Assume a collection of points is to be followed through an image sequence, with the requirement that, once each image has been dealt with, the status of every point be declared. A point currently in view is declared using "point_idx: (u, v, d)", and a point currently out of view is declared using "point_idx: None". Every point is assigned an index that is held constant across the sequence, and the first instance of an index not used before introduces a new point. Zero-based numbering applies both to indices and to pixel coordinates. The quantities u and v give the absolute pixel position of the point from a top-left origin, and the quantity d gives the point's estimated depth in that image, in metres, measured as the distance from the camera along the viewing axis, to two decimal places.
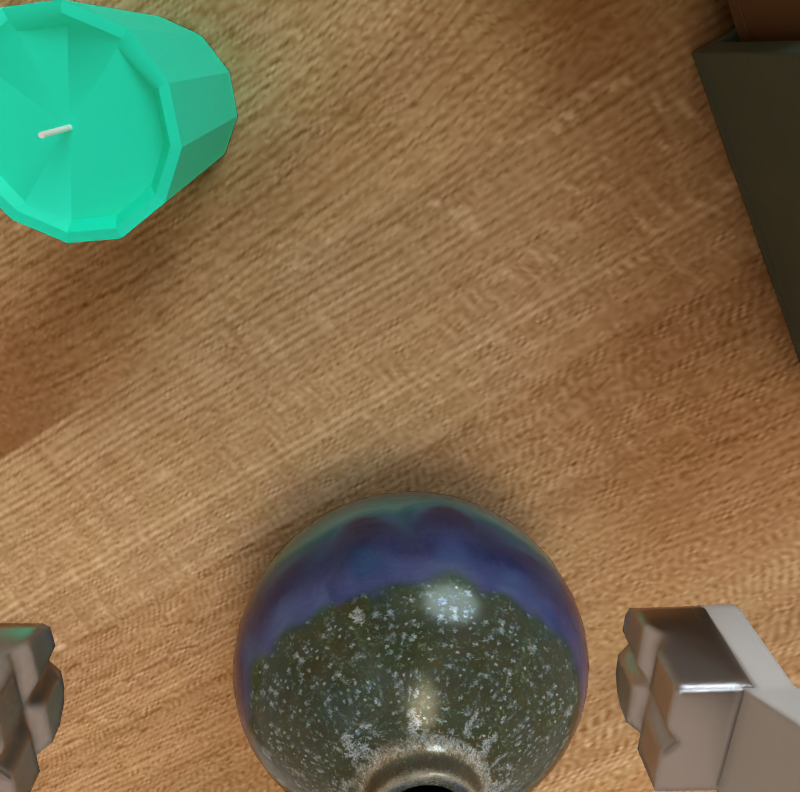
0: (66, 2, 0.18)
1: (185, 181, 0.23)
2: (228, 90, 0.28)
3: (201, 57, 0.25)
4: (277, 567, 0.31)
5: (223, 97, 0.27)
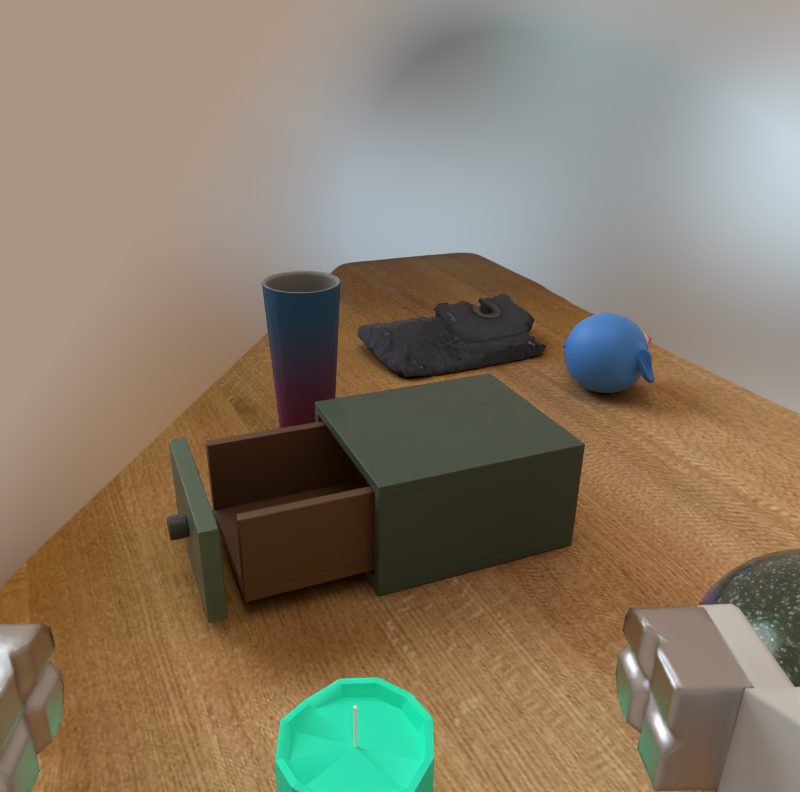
0: (282, 719, 0.29)
1: None
2: None
3: None
4: None
5: None
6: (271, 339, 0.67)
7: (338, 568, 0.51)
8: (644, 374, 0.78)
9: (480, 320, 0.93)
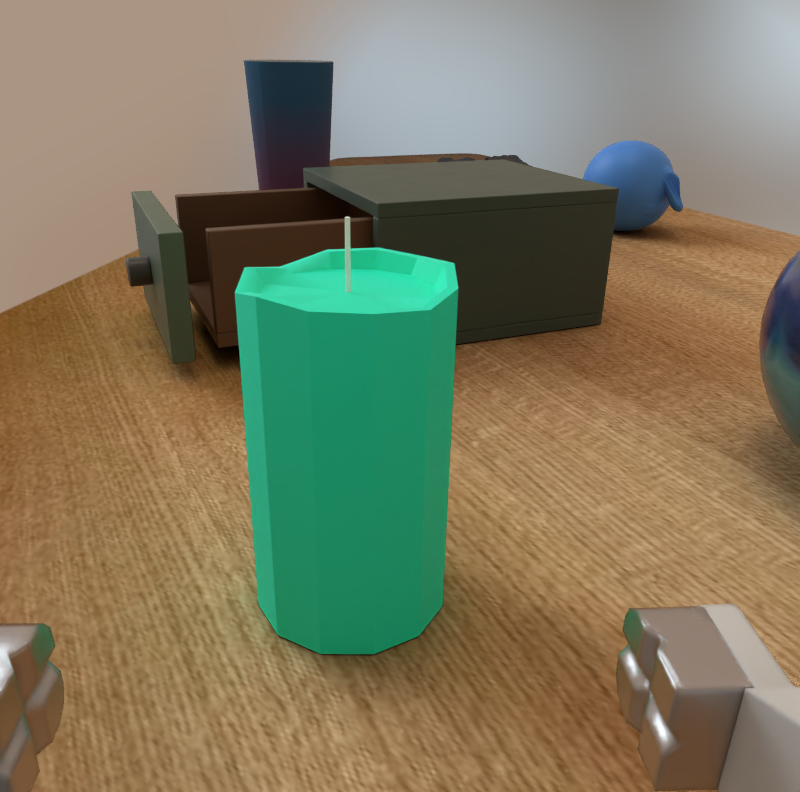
0: (248, 268, 0.21)
1: None
2: None
3: None
4: None
5: None
6: (255, 128, 0.59)
7: None
8: (672, 201, 0.70)
9: None
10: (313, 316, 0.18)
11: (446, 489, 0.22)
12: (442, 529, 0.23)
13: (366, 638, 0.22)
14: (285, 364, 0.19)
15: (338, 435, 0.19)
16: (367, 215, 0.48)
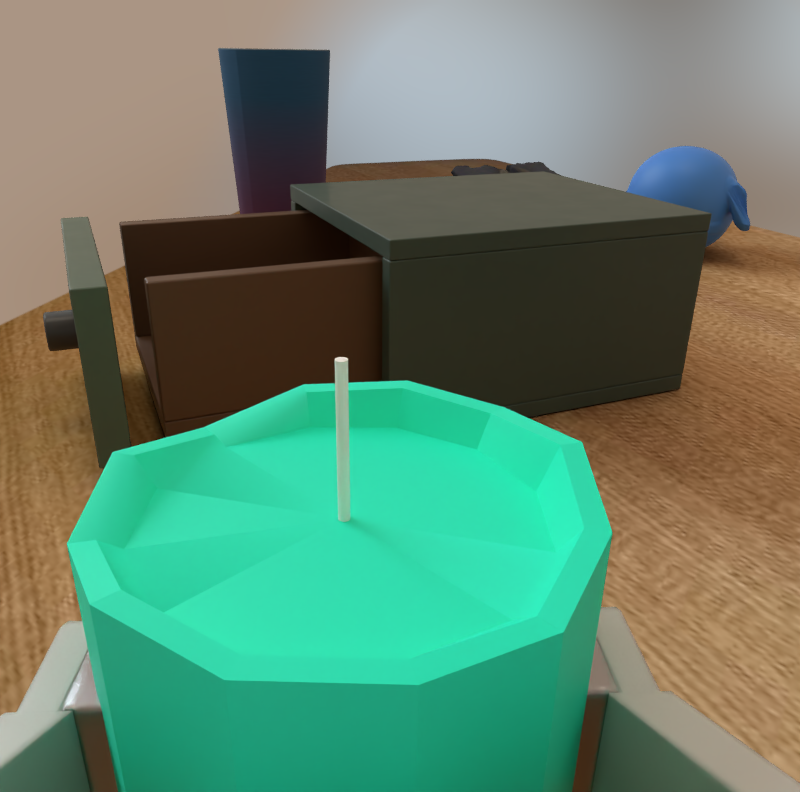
0: (122, 452, 0.09)
1: None
2: None
3: None
4: None
5: None
6: (232, 133, 0.47)
7: None
8: (737, 218, 0.58)
9: None
10: (240, 692, 0.06)
11: None
12: None
13: None
14: (175, 771, 0.07)
15: None
16: None
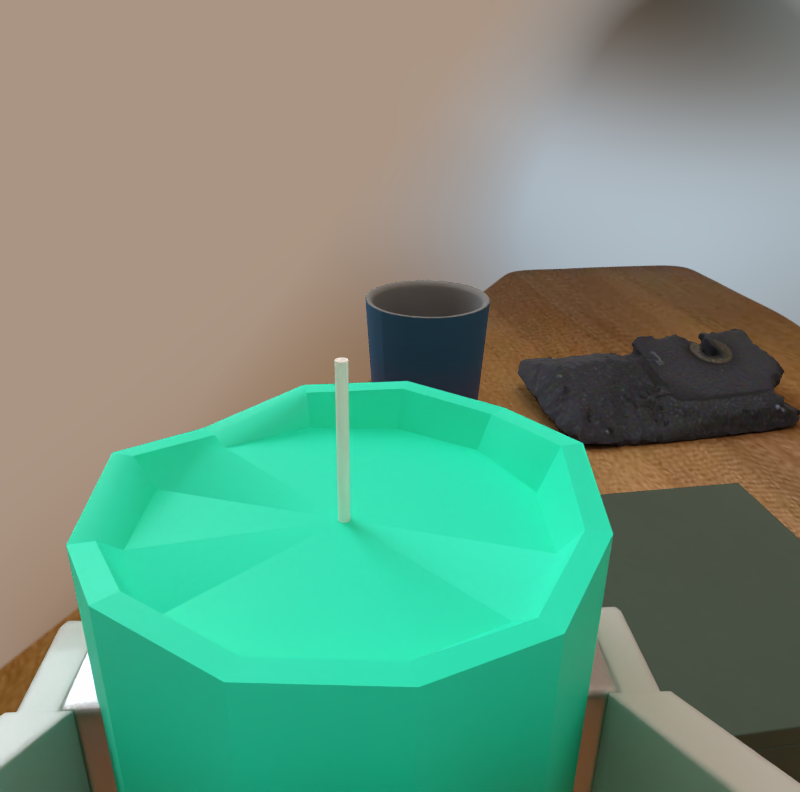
0: (121, 453, 0.09)
1: None
2: None
3: None
4: None
5: None
6: None
7: None
8: None
9: (700, 366, 0.63)
10: (240, 694, 0.06)
11: None
12: None
13: None
14: (175, 773, 0.07)
15: None
16: None
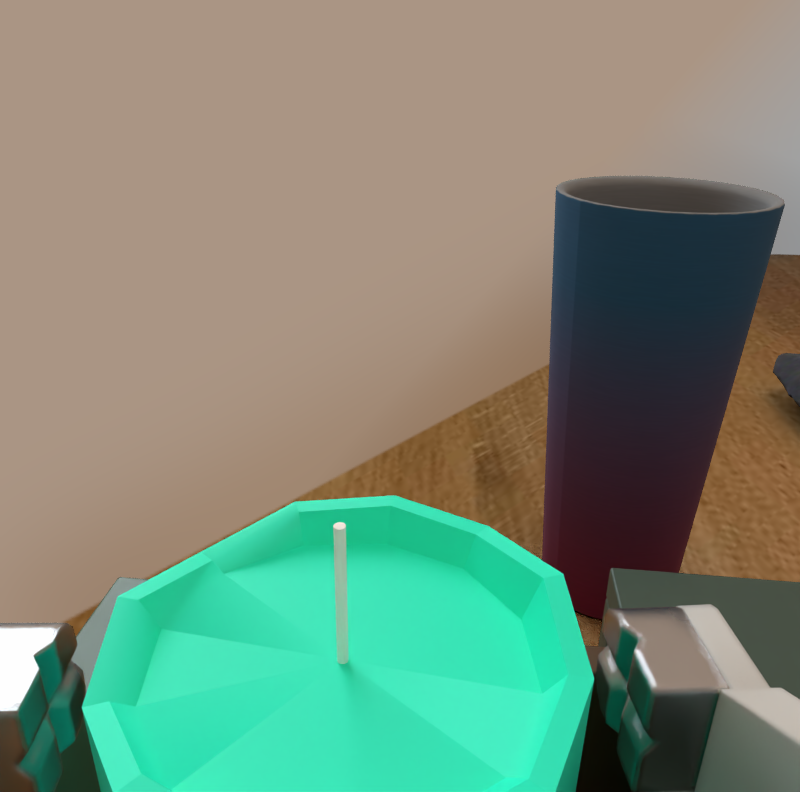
0: (126, 595, 0.10)
1: None
2: None
3: None
4: None
5: None
6: (553, 337, 0.26)
7: None
8: None
9: None
10: None
11: None
12: None
13: None
14: None
15: None
16: None
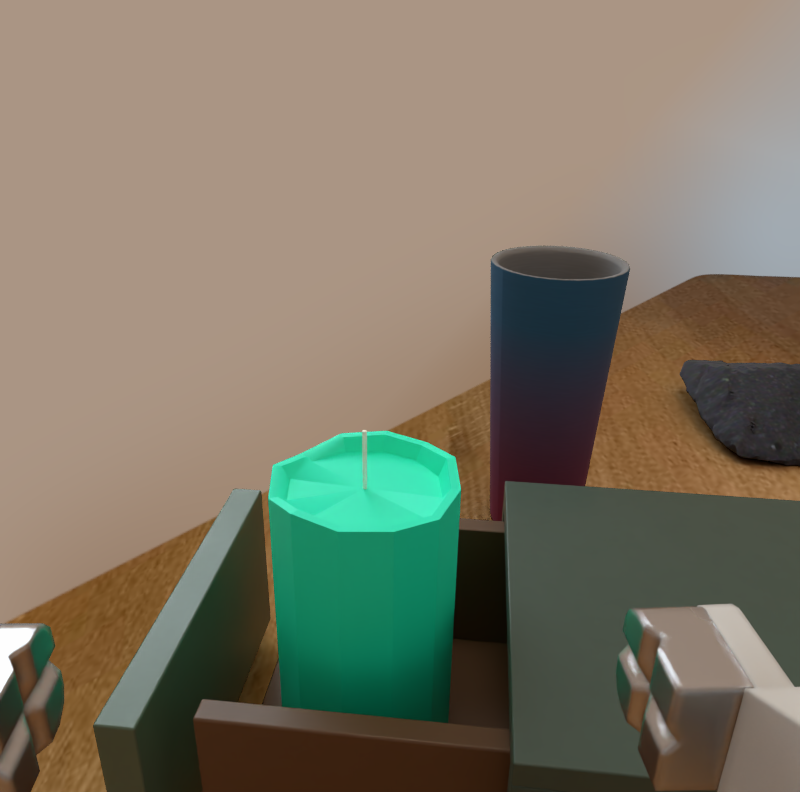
0: (275, 465, 0.24)
1: None
2: None
3: None
4: None
5: None
6: (491, 352, 0.40)
7: None
8: None
9: None
10: (342, 535, 0.21)
11: (450, 646, 0.25)
12: (447, 678, 0.26)
13: None
14: (315, 568, 0.22)
15: (362, 624, 0.22)
16: None
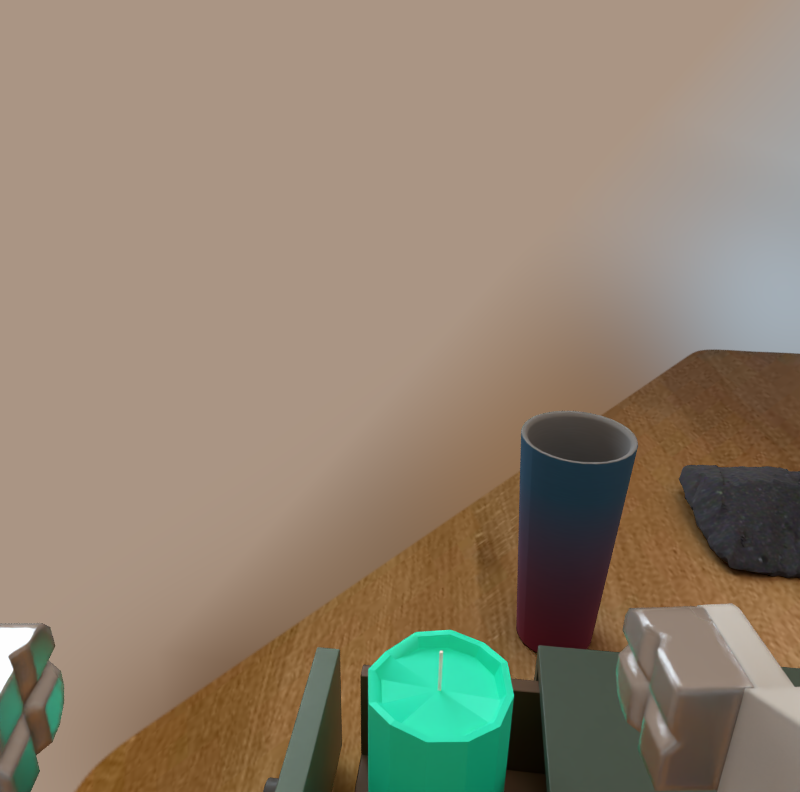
0: (369, 668, 0.31)
1: None
2: None
3: None
4: None
5: None
6: (520, 505, 0.47)
7: None
8: None
9: None
10: (430, 744, 0.28)
11: None
12: None
13: None
14: (407, 762, 0.29)
15: None
16: None
